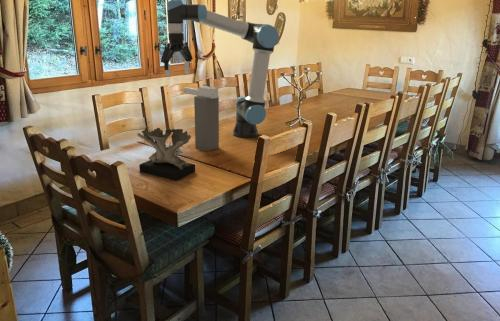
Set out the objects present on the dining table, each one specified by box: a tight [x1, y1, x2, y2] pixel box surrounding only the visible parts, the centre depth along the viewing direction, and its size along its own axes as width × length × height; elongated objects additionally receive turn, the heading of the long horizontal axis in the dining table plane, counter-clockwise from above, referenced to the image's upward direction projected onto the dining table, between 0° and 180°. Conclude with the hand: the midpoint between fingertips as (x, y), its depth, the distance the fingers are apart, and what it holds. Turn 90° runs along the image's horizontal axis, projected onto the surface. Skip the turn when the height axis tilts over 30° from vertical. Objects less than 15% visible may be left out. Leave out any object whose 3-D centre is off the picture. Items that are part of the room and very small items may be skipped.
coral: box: [136, 127, 196, 182], centre depth 182 cm, size 25×20×22 cm
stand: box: [193, 95, 220, 152], centre depth 220 cm, size 9×9×28 cm
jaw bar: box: [182, 85, 219, 99], centre depth 217 cm, size 22×5×5 cm, turn 51°
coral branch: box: [166, 142, 184, 157], centre depth 205 cm, size 9×8×10 cm
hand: (177, 75), depth 214 cm, fingers open, 13 cm apart
